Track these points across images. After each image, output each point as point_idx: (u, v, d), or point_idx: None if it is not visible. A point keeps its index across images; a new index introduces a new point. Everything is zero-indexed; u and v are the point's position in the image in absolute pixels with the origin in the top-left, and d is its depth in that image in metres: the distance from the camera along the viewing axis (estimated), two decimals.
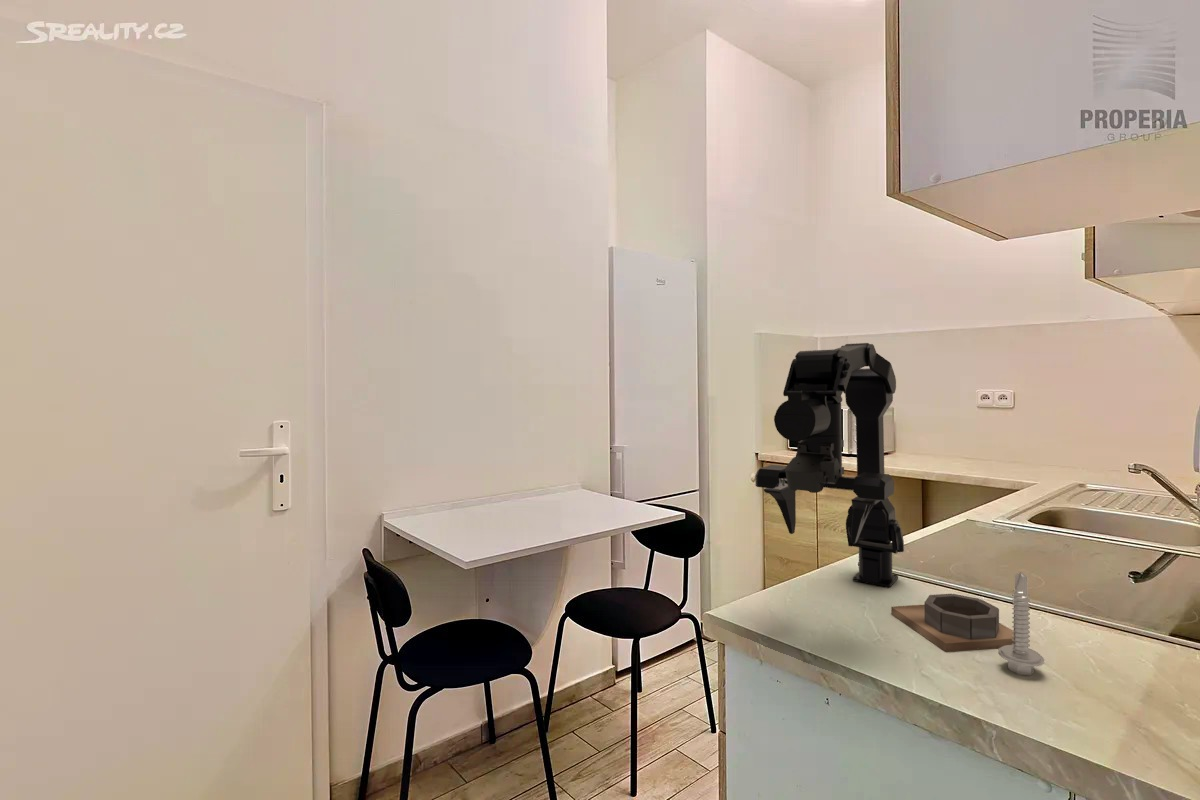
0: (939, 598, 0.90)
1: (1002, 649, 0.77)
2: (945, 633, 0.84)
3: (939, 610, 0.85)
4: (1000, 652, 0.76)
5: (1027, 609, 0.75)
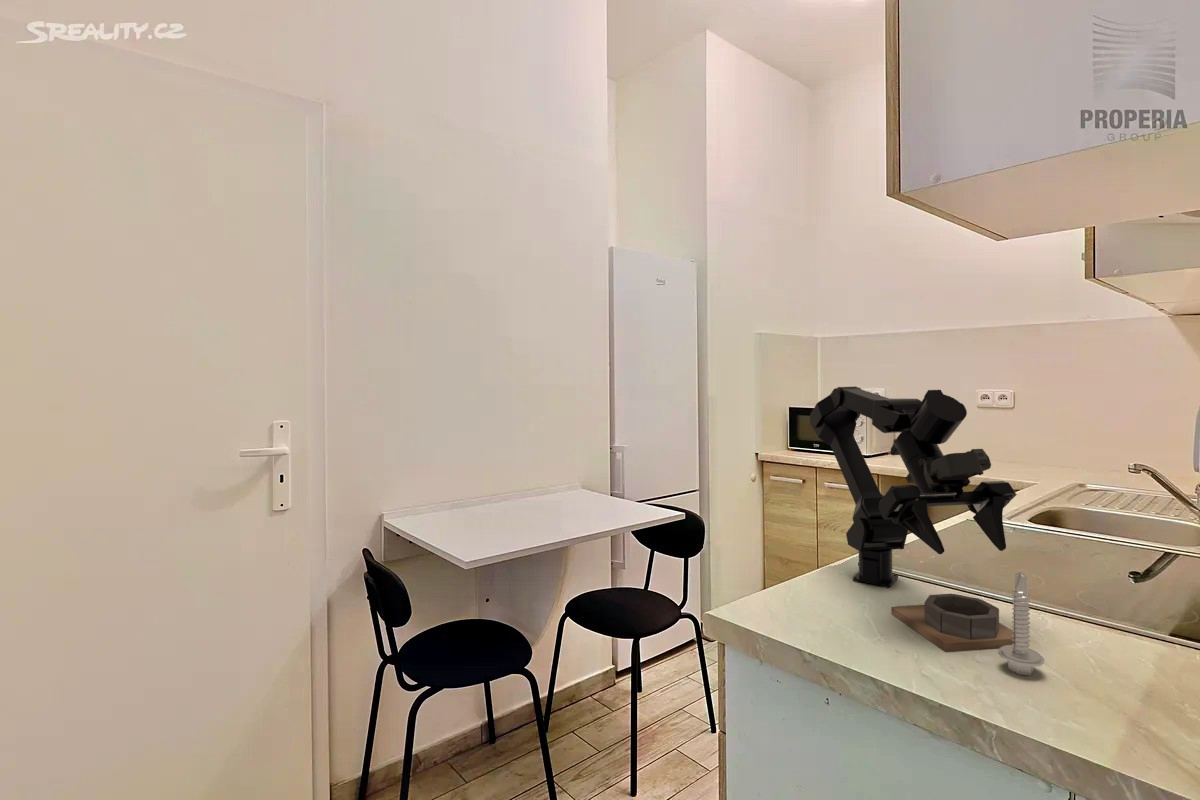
0: (939, 598, 0.90)
1: (1002, 649, 0.77)
2: (945, 633, 0.84)
3: (939, 610, 0.85)
4: (1000, 652, 0.76)
5: (1027, 609, 0.75)
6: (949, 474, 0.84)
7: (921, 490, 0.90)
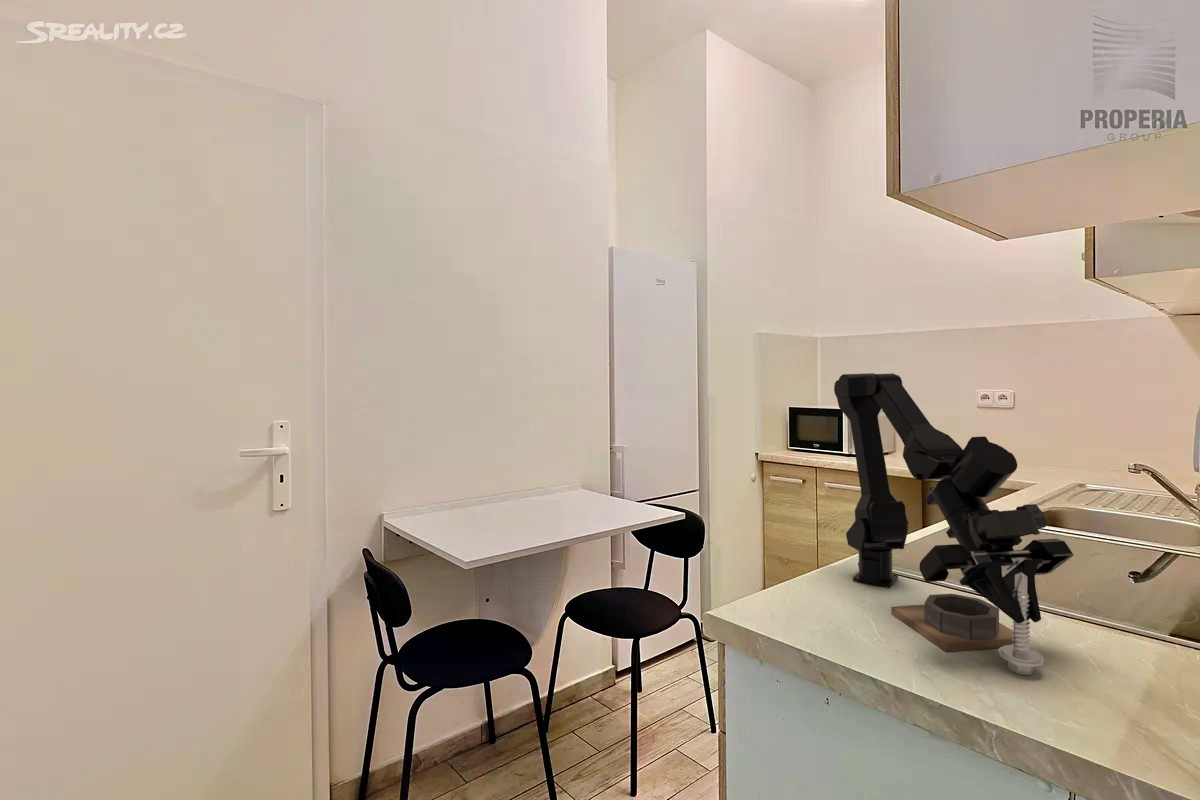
0: (939, 598, 0.90)
1: (1002, 649, 0.77)
2: (945, 633, 0.84)
3: (939, 610, 0.85)
4: (1000, 652, 0.76)
5: (1027, 609, 0.75)
6: (1001, 534, 0.75)
7: (966, 548, 0.81)
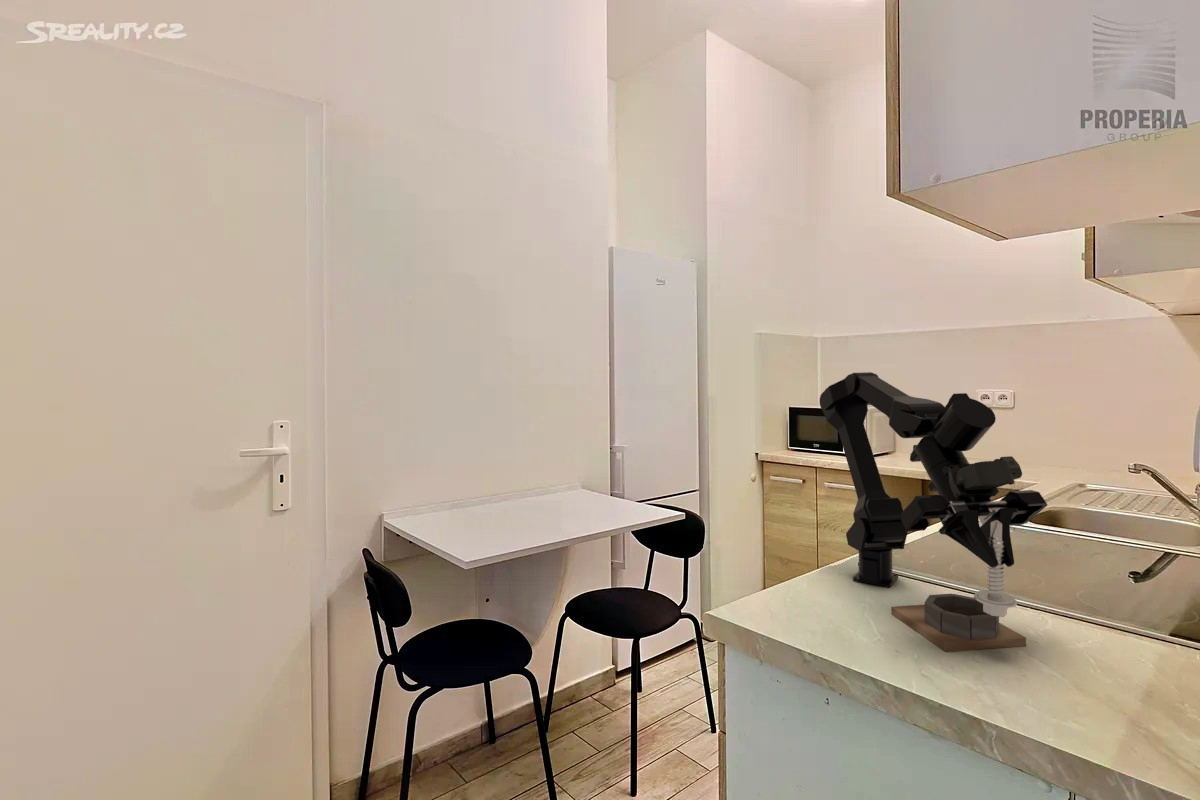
0: (939, 598, 0.90)
1: (978, 593, 0.81)
2: (945, 633, 0.84)
3: (939, 610, 0.85)
4: (976, 596, 0.80)
5: (1001, 554, 0.79)
6: (978, 484, 0.79)
7: (946, 500, 0.85)
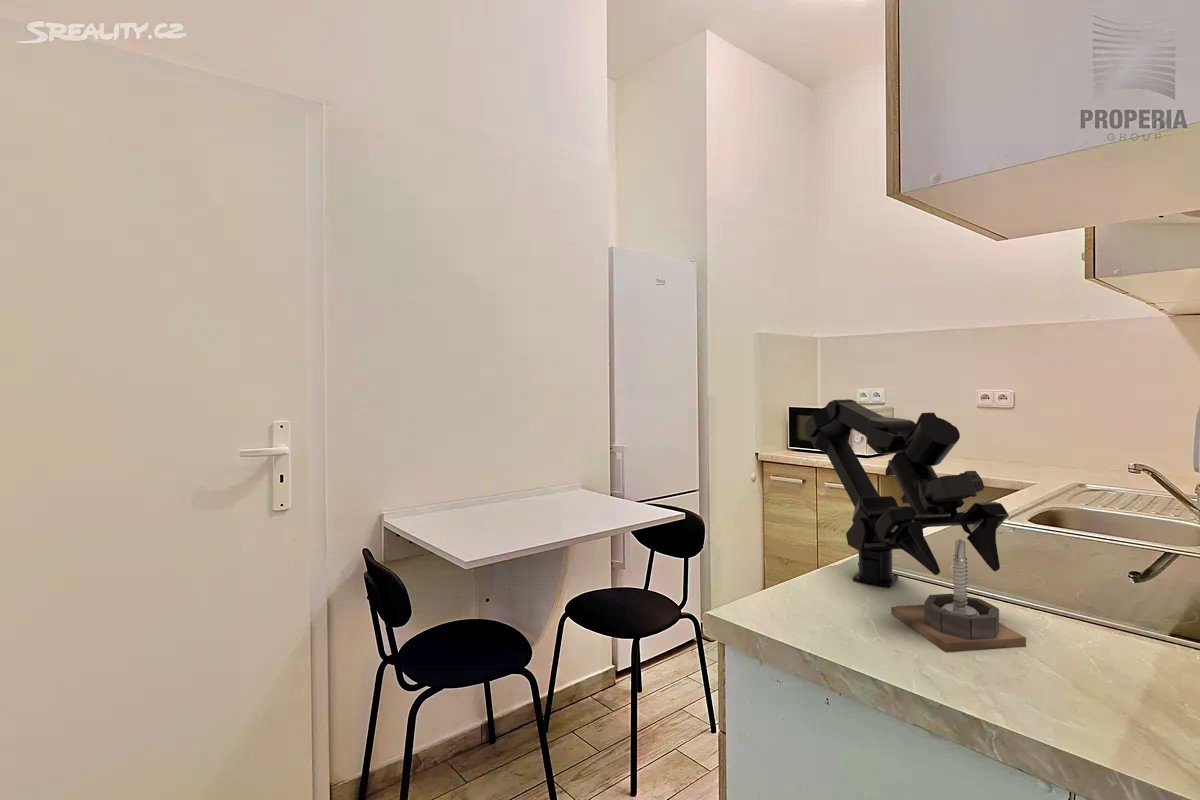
0: (939, 598, 0.90)
1: (944, 606, 0.88)
2: (945, 633, 0.84)
3: (939, 610, 0.85)
4: None
5: (965, 571, 0.86)
6: (944, 496, 0.86)
7: (916, 511, 0.92)
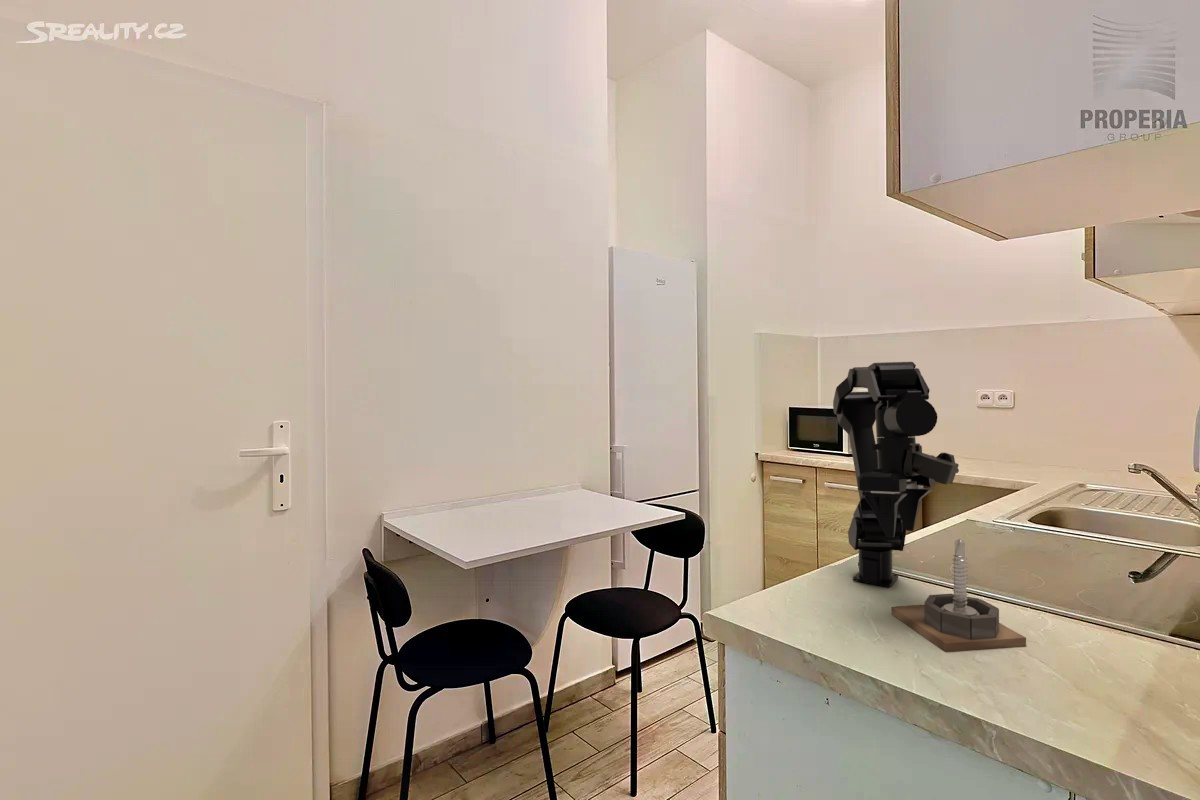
0: (939, 598, 0.90)
1: (944, 606, 0.88)
2: (945, 633, 0.84)
3: (939, 610, 0.85)
4: None
5: (965, 571, 0.86)
6: (937, 480, 0.89)
7: (890, 469, 0.94)
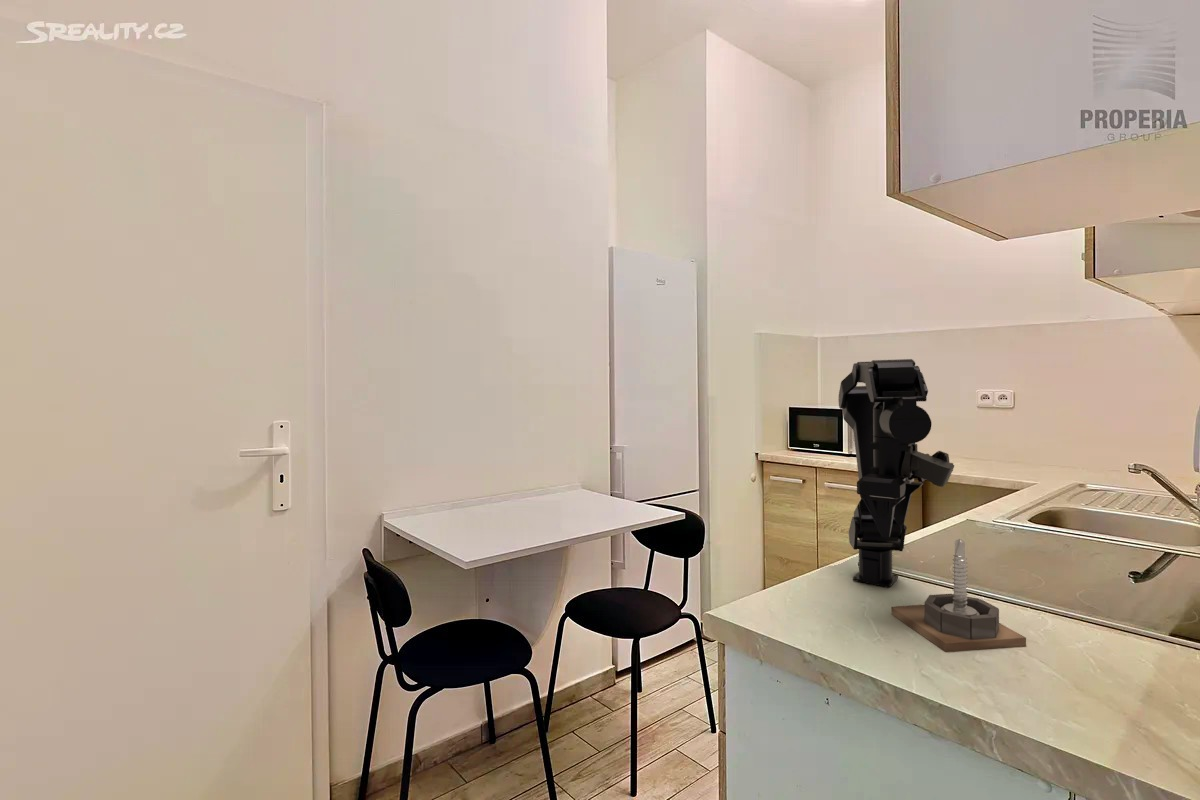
0: (939, 598, 0.90)
1: (944, 606, 0.88)
2: (945, 633, 0.84)
3: (939, 610, 0.85)
4: None
5: (965, 571, 0.86)
6: (934, 483, 0.89)
7: (887, 469, 0.93)
